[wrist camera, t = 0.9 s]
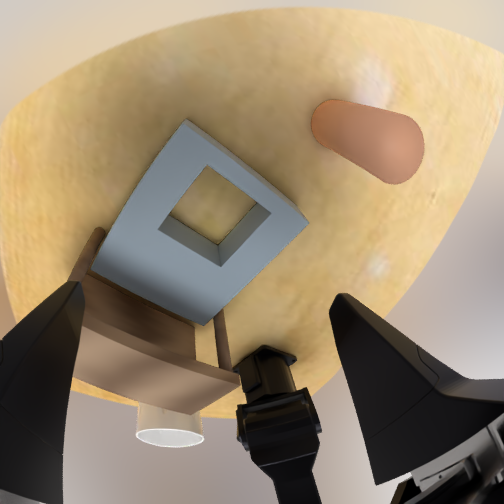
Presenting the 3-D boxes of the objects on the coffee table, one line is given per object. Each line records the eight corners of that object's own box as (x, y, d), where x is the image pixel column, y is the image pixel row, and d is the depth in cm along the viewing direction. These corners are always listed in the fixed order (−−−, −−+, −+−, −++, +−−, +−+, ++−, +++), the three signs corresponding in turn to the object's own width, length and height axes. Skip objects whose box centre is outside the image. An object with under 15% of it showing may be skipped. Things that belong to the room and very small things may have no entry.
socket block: (296, 205, 22) (309, 222, 20) (202, 303, 26) (203, 326, 24) (185, 118, 17) (183, 123, 14) (100, 248, 21) (90, 269, 18)
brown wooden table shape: (225, 296, 26) (240, 385, 18) (187, 334, 29) (190, 415, 21) (95, 223, 20) (50, 308, 12) (70, 276, 22) (37, 359, 14)
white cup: (133, 375, 32) (129, 440, 24) (148, 346, 29) (144, 424, 21) (184, 387, 35) (189, 449, 27) (207, 362, 32) (216, 434, 24)
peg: (365, 125, 19) (433, 152, 12) (333, 157, 20) (392, 197, 14) (335, 89, 17) (403, 99, 10) (300, 123, 18) (355, 148, 12)
